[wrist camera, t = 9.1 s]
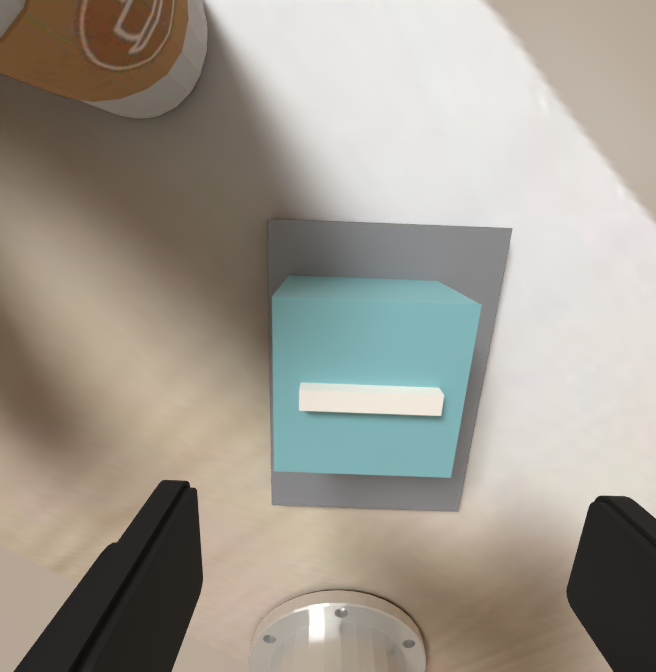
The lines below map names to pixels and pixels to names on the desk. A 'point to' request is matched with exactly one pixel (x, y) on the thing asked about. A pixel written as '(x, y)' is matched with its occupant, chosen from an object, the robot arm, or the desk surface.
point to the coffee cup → (106, 50)
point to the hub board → (401, 264)
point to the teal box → (369, 375)
